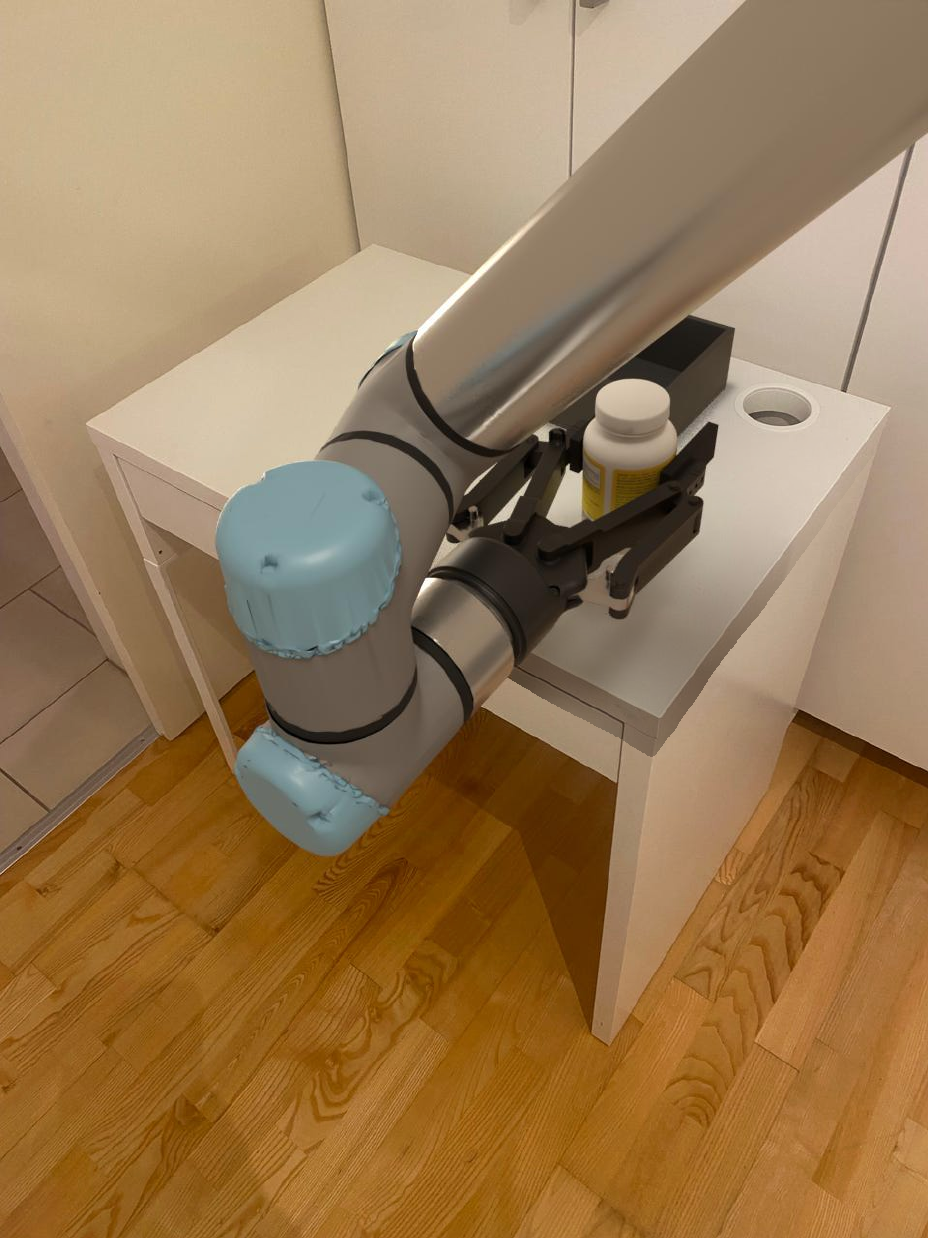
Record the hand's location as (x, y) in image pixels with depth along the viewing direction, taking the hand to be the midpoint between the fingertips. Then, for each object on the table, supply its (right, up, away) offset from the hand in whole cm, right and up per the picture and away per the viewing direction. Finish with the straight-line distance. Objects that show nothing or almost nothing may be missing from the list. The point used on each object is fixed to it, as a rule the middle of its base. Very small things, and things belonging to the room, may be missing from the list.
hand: (666, 424), depth 67 cm
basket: (+2, +8, +27) cm, 28 cm away
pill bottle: (-3, -7, +2) cm, 8 cm away
